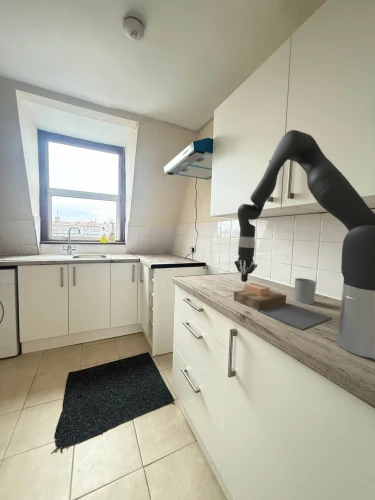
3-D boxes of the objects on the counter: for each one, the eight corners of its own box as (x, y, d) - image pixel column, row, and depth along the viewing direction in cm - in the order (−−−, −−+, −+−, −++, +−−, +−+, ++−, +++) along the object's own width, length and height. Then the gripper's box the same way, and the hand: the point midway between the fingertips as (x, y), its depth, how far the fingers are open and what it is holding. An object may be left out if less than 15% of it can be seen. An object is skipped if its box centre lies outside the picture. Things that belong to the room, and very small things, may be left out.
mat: (331, 318, 74) (331, 317, 74) (301, 330, 64) (301, 329, 64) (287, 304, 89) (287, 303, 89) (257, 311, 78) (257, 310, 78)
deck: (285, 304, 88) (286, 295, 88) (258, 310, 79) (259, 300, 79) (259, 295, 100) (260, 287, 100) (233, 300, 91) (234, 291, 91)
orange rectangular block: (268, 294, 89) (269, 287, 89) (260, 295, 86) (260, 289, 86) (252, 289, 97) (253, 283, 96) (244, 290, 93) (244, 284, 93)
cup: (318, 304, 91) (320, 282, 90) (302, 304, 89) (304, 282, 88) (304, 298, 99) (306, 278, 98) (289, 298, 98) (291, 278, 97)
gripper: (263, 247, 92) (260, 284, 94) (241, 245, 104) (239, 278, 105) (252, 247, 88) (249, 285, 90) (231, 245, 100) (229, 279, 101)
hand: (244, 281), depth 97 cm, fingers closed
